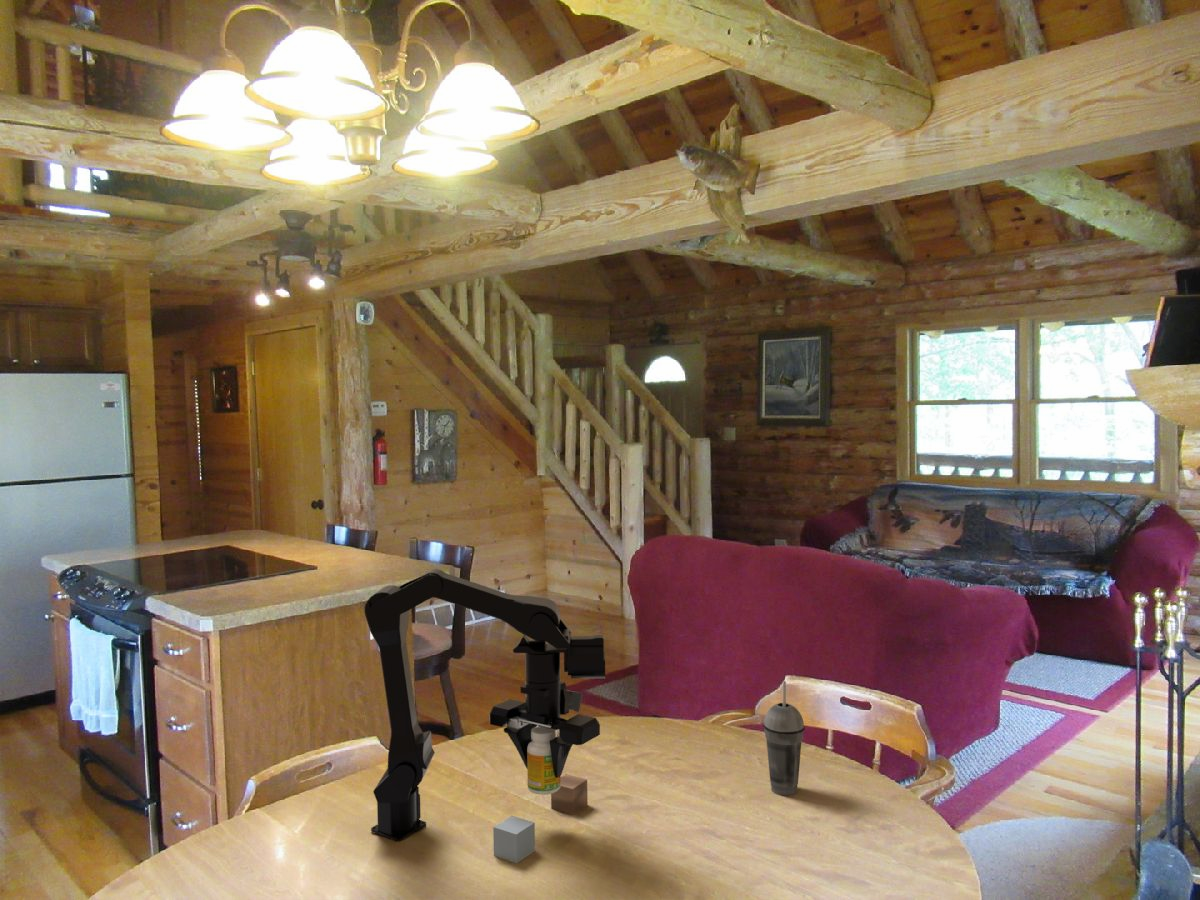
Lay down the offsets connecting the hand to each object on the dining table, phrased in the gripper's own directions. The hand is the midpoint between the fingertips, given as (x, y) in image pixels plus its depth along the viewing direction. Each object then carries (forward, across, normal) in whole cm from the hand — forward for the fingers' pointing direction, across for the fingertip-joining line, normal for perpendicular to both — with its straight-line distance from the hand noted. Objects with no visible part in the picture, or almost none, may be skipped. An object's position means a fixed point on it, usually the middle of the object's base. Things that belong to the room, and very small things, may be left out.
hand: (544, 773), depth 140 cm
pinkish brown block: (+9, +1, -8) cm, 13 cm away
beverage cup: (+9, -28, -34) cm, 45 cm away
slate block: (+9, -1, +9) cm, 13 cm away
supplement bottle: (+3, 0, 0) cm, 3 cm away
